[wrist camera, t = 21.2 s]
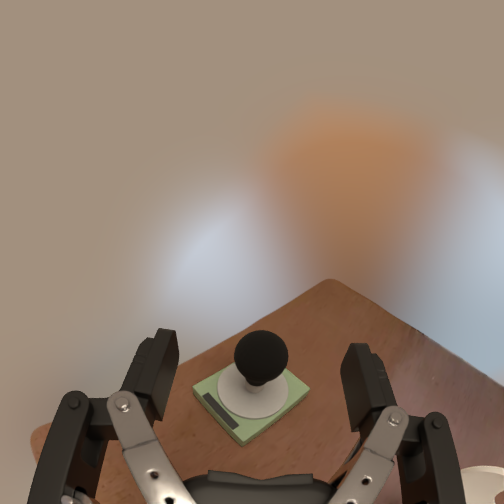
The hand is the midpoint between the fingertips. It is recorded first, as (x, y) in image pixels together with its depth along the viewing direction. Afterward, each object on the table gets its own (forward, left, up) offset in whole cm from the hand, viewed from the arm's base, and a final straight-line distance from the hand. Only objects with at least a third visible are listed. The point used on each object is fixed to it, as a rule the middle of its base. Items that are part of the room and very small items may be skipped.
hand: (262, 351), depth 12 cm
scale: (-1, +11, -24) cm, 27 cm away
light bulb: (-1, +11, -22) cm, 24 cm away
